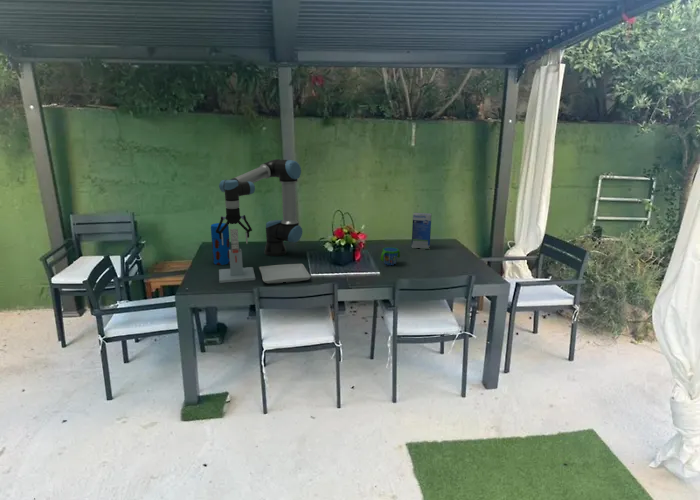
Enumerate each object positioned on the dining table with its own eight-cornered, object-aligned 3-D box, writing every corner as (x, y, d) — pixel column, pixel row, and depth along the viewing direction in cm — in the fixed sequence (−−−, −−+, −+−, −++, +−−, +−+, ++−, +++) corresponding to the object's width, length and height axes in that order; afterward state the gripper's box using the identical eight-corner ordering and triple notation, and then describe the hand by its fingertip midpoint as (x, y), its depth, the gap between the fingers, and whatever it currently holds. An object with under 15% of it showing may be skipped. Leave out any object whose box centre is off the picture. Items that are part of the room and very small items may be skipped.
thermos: (225, 265, 280) (223, 227, 273) (210, 264, 282) (207, 226, 275) (233, 260, 290) (231, 223, 283) (218, 259, 292) (215, 222, 285)
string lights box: (429, 247, 328) (432, 213, 320) (429, 250, 320) (431, 215, 313) (411, 246, 330) (413, 212, 323) (410, 248, 323) (412, 214, 316)
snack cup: (394, 260, 295) (395, 245, 293) (404, 264, 287) (405, 249, 284) (375, 264, 287) (376, 248, 284) (385, 268, 279) (386, 252, 276)
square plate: (311, 282, 253) (311, 276, 252) (263, 287, 245) (263, 280, 244) (302, 268, 278) (302, 262, 277) (258, 271, 270) (258, 265, 269)
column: (240, 271, 263) (237, 228, 256) (240, 273, 259) (237, 230, 252) (232, 271, 262) (230, 229, 255) (233, 274, 258) (230, 230, 251)
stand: (252, 269, 273) (251, 243, 269) (255, 280, 255) (254, 252, 250) (219, 271, 268) (217, 246, 263) (219, 282, 249) (217, 255, 245)
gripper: (254, 205, 257) (256, 240, 263) (209, 207, 250) (212, 243, 256) (255, 207, 250) (257, 244, 256) (209, 209, 243) (212, 246, 249)
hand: (234, 243), depth 256 cm, fingers open, 13 cm apart
